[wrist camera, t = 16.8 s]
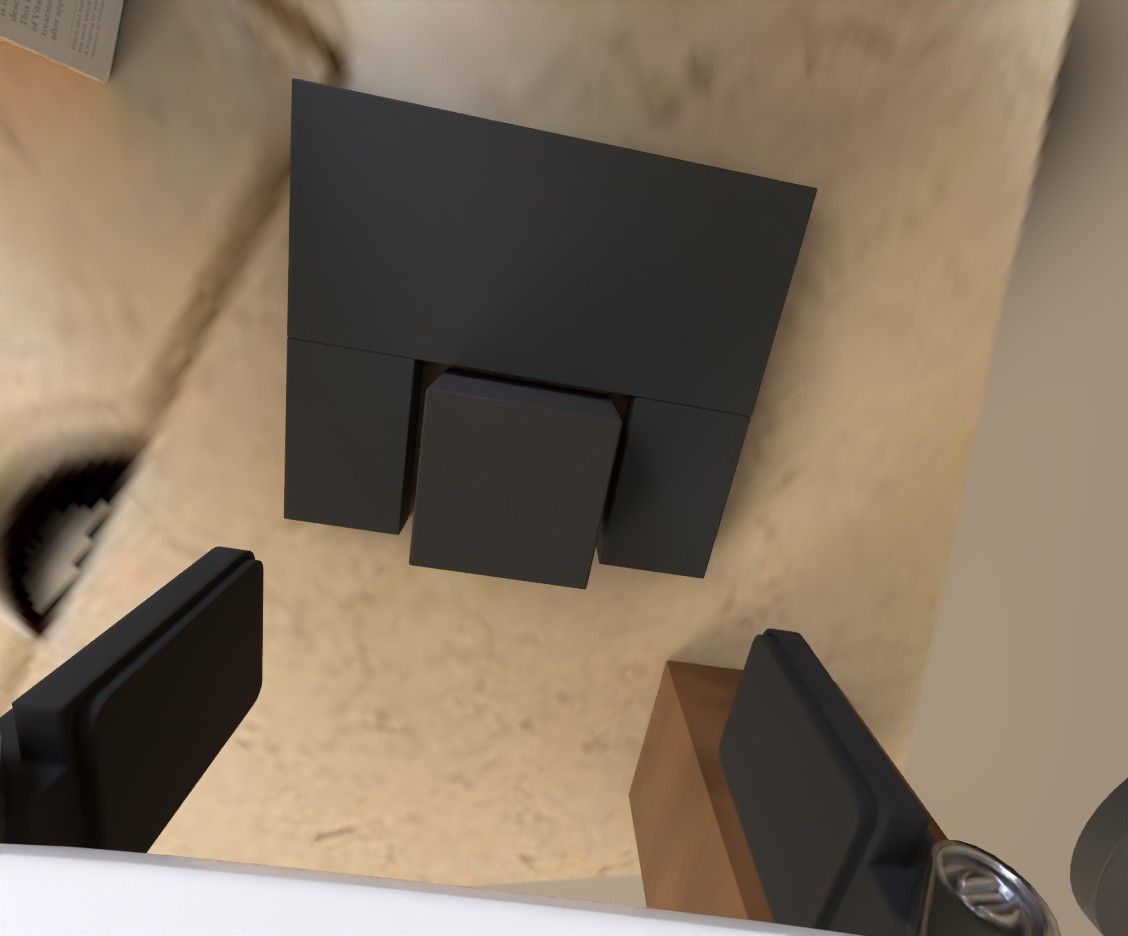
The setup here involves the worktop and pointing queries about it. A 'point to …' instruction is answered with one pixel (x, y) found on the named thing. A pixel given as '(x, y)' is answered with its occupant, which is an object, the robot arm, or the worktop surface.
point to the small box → (65, 32)
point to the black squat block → (512, 478)
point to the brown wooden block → (697, 802)
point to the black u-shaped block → (524, 305)
